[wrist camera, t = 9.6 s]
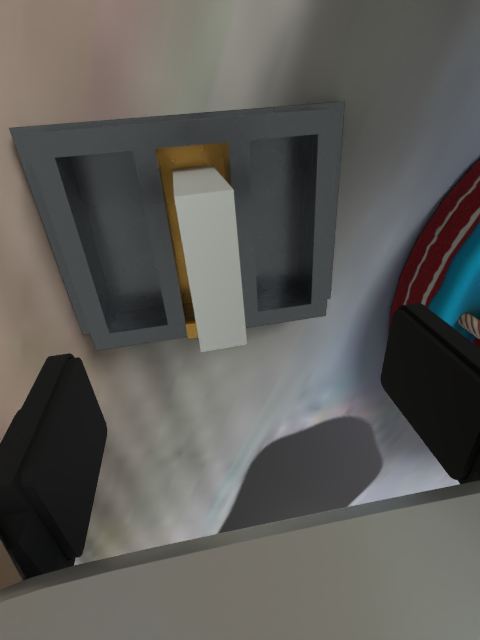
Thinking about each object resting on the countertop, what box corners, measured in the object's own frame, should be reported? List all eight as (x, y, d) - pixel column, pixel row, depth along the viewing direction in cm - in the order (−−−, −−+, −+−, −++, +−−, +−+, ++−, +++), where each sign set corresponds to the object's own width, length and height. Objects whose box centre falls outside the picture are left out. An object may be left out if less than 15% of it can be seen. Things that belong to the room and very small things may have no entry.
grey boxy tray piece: (338, 101, 23) (370, 99, 19) (325, 293, 30) (347, 318, 26) (15, 127, 21) (-18, 130, 17) (85, 327, 28) (72, 360, 24)
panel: (211, 164, 22) (233, 189, 15) (224, 278, 26) (247, 344, 19) (172, 169, 22) (174, 196, 14) (191, 283, 26) (201, 352, 19)
